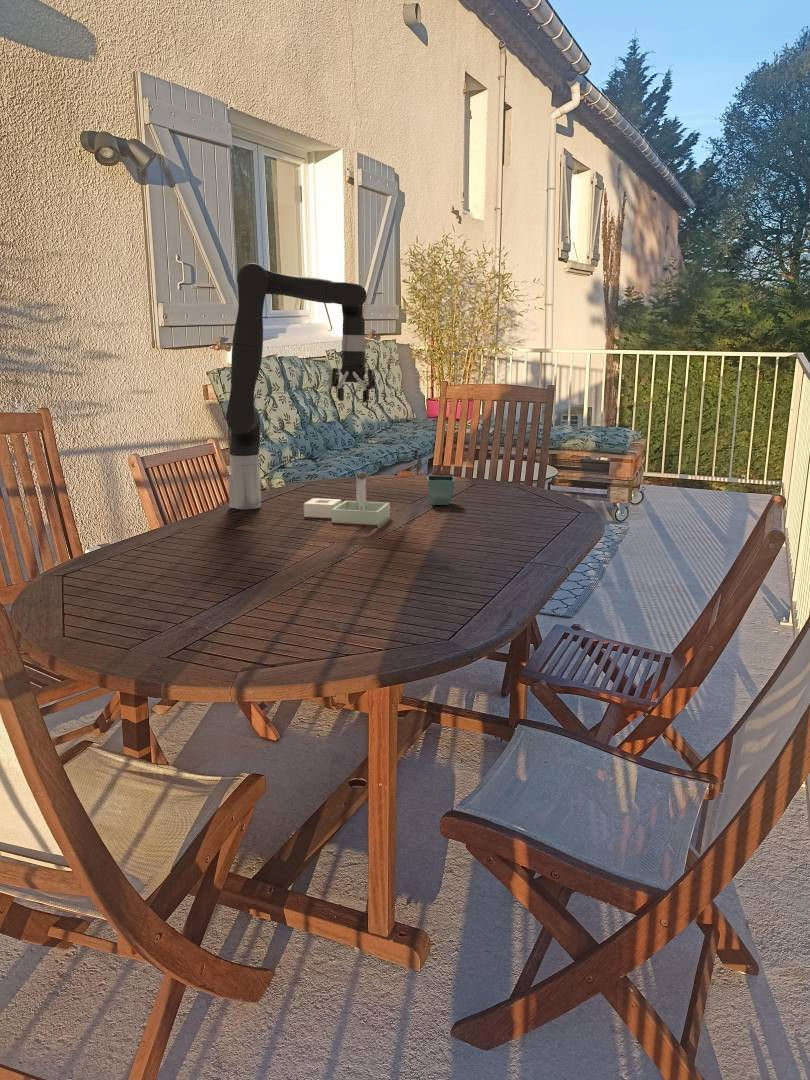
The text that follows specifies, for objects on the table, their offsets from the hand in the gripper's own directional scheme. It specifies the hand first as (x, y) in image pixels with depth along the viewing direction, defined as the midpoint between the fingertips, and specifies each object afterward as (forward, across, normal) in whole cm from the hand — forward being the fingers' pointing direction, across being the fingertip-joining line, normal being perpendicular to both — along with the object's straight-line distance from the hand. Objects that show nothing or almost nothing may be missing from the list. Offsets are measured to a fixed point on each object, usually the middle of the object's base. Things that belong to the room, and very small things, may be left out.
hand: (353, 401), depth 270 cm
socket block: (+34, +1, -23) cm, 41 cm away
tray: (+34, +15, -24) cm, 44 cm away
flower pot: (+33, +27, +11) cm, 44 cm away
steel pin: (+33, +15, -24) cm, 43 cm away
